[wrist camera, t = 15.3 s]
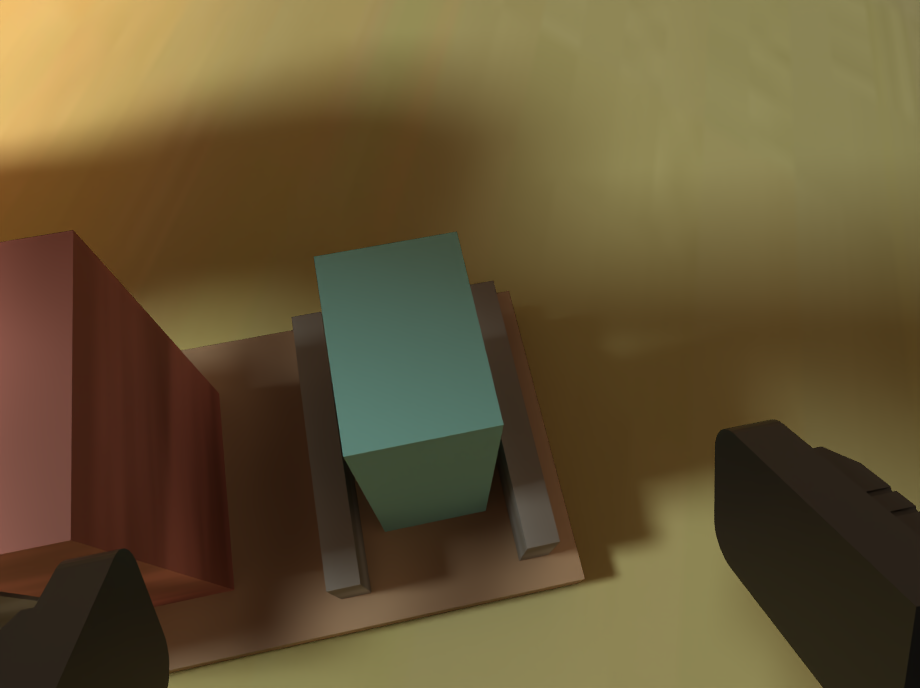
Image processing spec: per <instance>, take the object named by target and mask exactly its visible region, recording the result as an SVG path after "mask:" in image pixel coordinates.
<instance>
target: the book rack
mask: <svg viewBox="0 0 920 688" xmlns="http://www.w3.org/2000/svg"><path fill="white" fill-rule="evenodd" d="M470 288H471V292H472V296H473V300H474V304H475V309H476V313H477V317H478V321H479V325H480V329H481V333H482V337H483V342H484V346H485V350H486V354H487V358H488V362H489V366H490V370H491V375H492V379H493V383H494V387H495V391H496V395H497V399H498V403H499V408H500V412H501V416H502V420H503V424H504V426H503V430H502V435H501V440H500V445H499V449H498V454H497V459H496V464H495V469H494V473H493V478H492V483H491V488H490V492H489V497H488V502H487V507H486V511H483V512H478V513H473V514H468V515H464V516H459V517H454V518H449V519H445V520H440V521H435V522H430V523H426V524H421V525H416V526H411V527H407V528H402V529H397V530H392V531H388V532H385V531H384V529H383V527H382V525H381V524H380V522H379V520H378V518H377V516H376V515H375V513H374V511H373V509H372V507H371V506H370V504H369V502H368V500H367V499H366V497H365V495H364V493H363V491H362V490H361V488H360V486H359V484H358V482H357V481H356V479H355V477H354V475H353V473H352V472H351V470H350V468H349V466H348V464H347V463H346V461H345V459H344V457H343V452H342V445H341V438H340V431H339V424H338V418H337V411H336V404H335V397H334V391H333V384H332V377H331V370H330V363H329V357H328V350H327V343H326V336H325V329H324V323H323V316H322V313H321V312H317V313H311V314H306V315H300V316H295V317H292V324H293V330H291V331H286V332H280V333H275V334H269V335H264V336H258V337H253V338H247V339H242V340H236V341H231V342H225V343H220V344H214V345H209V346H203V347H198V348H192V349H187V350H180V349H179V348H178V347H177V346H176V345H175V343H174V342H173V341H172V340H171V339H170V338H169V337H168V336H167V334H166V333H165V332H164V331H163V330H162V329H161V328H160V327H159V326H158V324H157V323H156V322H155V321H154V320H153V319H152V318H151V317H150V315H149V314H148V313H147V312H146V311H145V310H144V309H143V308H142V307H141V305H140V304H139V303H138V302H137V301H136V300H135V299H134V298H133V296H132V295H131V294H130V293H129V292H128V291H127V290H126V289H125V288H124V286H123V285H122V284H121V283H120V282H119V281H118V280H117V279H116V277H115V276H114V275H113V274H112V273H111V272H110V271H109V270H108V269H107V267H106V266H105V265H104V264H103V263H102V262H101V261H100V260H99V258H98V257H97V256H96V255H95V254H94V253H93V252H92V251H91V250H90V248H89V247H88V246H87V245H86V244H85V243H84V242H83V241H82V239H81V238H80V237H79V236H78V235H77V234H76V233H75V232H74V230H71V231H65V232H59V233H53V234H47V235H41V236H35V237H29V238H23V239H17V240H11V241H5V242H0V629H1V628H2V627H4V626H5V625H6V624H7V623H8V622H9V621H10V620H11V619H12V618H13V617H14V616H15V615H16V614H17V613H18V612H19V611H20V610H23V609H28V608H33V607H35V605H36V603H37V602H38V600H39V598H40V596H41V594H42V593H43V591H44V589H45V587H46V585H47V583H48V582H49V580H50V578H51V576H52V574H53V573H54V571H55V569H56V567H57V566H58V565H59V564H60V563H61V562H62V561H64V560H68V559H73V558H78V557H83V556H88V555H93V554H98V553H103V552H108V551H113V550H118V549H123V548H125V549H128V550H129V551H130V552H131V553H132V554H133V556H134V557H135V559H136V562H137V564H138V566H139V569H140V572H141V574H142V577H143V580H144V582H145V585H146V588H147V590H148V593H149V595H150V598H151V601H152V603H153V606H154V609H155V611H156V614H157V617H158V619H159V622H160V624H161V627H162V630H163V632H164V635H165V638H166V642H167V647H168V653H169V673H172V672H177V671H181V670H186V669H190V668H195V667H199V666H204V665H208V664H213V663H217V662H222V661H227V660H231V659H236V658H240V657H245V656H249V655H254V654H258V653H263V652H267V651H272V650H277V649H281V648H286V647H290V646H295V645H299V644H304V643H308V642H313V641H317V640H322V639H326V638H331V637H336V636H340V635H345V634H349V633H354V632H358V631H363V630H367V629H372V628H376V627H381V626H386V625H390V624H395V623H399V622H404V621H408V620H413V619H417V618H422V617H426V616H431V615H435V614H440V613H445V612H449V611H454V610H458V609H463V608H467V607H472V606H476V605H481V604H485V603H490V602H495V601H499V600H504V599H508V598H513V597H517V596H522V595H526V594H531V593H535V592H540V591H544V590H549V589H554V588H558V587H563V586H567V585H572V584H576V583H579V582H581V581H582V580H584V579H585V578H584V574H583V570H582V566H581V563H580V559H579V555H578V551H577V547H576V544H575V540H574V536H573V532H572V528H571V525H570V521H569V517H568V513H567V510H566V506H565V502H564V498H563V494H562V491H561V487H560V483H559V479H558V475H557V472H556V468H555V464H554V460H553V456H552V453H551V449H550V445H549V441H548V438H547V434H546V430H545V426H544V422H543V419H542V415H541V411H540V407H539V403H538V400H537V396H536V392H535V388H534V384H533V381H532V377H531V373H530V369H529V366H528V362H527V358H526V354H525V350H524V347H523V343H522V339H521V335H520V331H519V328H518V324H517V320H516V316H515V312H514V309H513V305H512V301H511V297H510V294H509V291H506V292H500V293H496V289H495V285H494V281H489V282H483V283H478V284H472V285H470Z"/></svg>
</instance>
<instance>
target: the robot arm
mask: <svg viewBox="0 0 920 688" xmlns="http://www.w3.org/2000/svg"><path fill="white" fill-rule="evenodd" d="M714 523H715V531H716V536H717V539H718V543H719V546H720V549H721V551H722V553H723V556H724V558H725V560H726V561H727V563H728V565H729V566H730V567H731V569H732V570H733V571H734V573H735V574H736V575H737V577H738V578H739V579H740V581H741V582H742V583H743V584H744V586H745V587H746V588H747V590H748V591H749V592H750V594H751V595H752V596H753V597H754V599H755V600H756V601H757V603H758V604H759V605H760V606H761V608H762V609H763V610H764V612H765V613H766V614H767V616H768V617H769V618H770V619H771V621H772V622H773V623H774V625H775V626H776V627H777V629H778V630H779V631H780V632H781V634H782V635H783V636H784V638H785V639H786V640H787V641H788V643H789V644H790V645H791V647H792V648H793V649H794V651H795V652H796V653H797V654H798V656H799V657H800V658H801V660H802V661H803V662H804V664H805V665H806V666H807V667H808V669H809V670H810V671H811V673H812V674H813V675H814V677H815V678H816V679H817V680H818V682H819V683H820V684H821V686H822V687H823V688H920V512H918V511H917V510H916V506H915V505H914V504H913V503H911V502H910V501H909V500H907V499H906V498H905V497H904V496H902V495H901V494H900V493H898V492H897V491H894V492H892V490H891V487H890V486H889V485H888V484H887V483H886V482H884V481H883V480H882V479H880V478H879V477H878V476H876V475H875V474H874V473H873V472H871V471H870V470H869V469H867V468H866V467H865V466H864V465H862V464H861V463H859V462H857V461H854V460H852V459H849V458H847V457H845V456H842V455H840V454H838V453H835V452H833V451H831V450H828V449H826V448H824V447H817V448H812V447H811V446H809V445H808V444H807V443H806V442H804V441H803V440H802V439H801V438H800V437H798V436H797V435H796V434H795V433H794V432H792V431H791V430H790V429H789V428H787V427H786V426H785V425H784V424H782V423H781V422H780V421H777V420H767V421H762V422H757V423H752V424H747V425H742V426H737V427H732V428H727V429H723V430H721V431H720V432H719V433H718V435H717V437H716V442H715V502H714ZM168 682H169V653H168V647H167V642H166V638H165V635H164V632H163V630H162V627H161V624H160V622H159V619H158V617H157V614H156V611H155V609H154V606H153V603H152V601H151V598H150V595H149V593H148V590H147V588H146V585H145V582H144V580H143V577H142V574H141V572H140V569H139V566H138V564H137V562H136V559H135V557H134V556H133V554H132V553H131V552H130V551H129V550H128V549H125V548H123V549H118V550H113V551H108V552H103V553H98V554H93V555H88V556H83V557H78V558H73V559H68V560H64V561H62V562H61V563H60V564H59V565H58V566H57V567H56V569H55V571H54V573H53V574H52V576H51V578H50V580H49V582H48V583H47V585H46V587H45V589H44V591H43V593H42V594H41V596H40V598H39V600H38V602H37V603H36V605H35V607H33V608H28V609H23V610H20V611H19V612H18V613H17V614H16V615H15V616H14V617H13V618H12V619H11V620H10V621H9V622H8V623H7V624H6V625H5V626H4V627H2V628H1V629H0V688H167V687H168Z"/></svg>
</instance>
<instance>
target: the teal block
mask: <svg viewBox="0 0 920 688" xmlns="http://www.w3.org/2000/svg"><path fill="white" fill-rule="evenodd" d="M314 262H315V268H316V275H317V282H318V289H319V296H320V302H321V309H322V316H323V323H324V329H325V336H326V343H327V350H328V357H329V363H330V370H331V377H332V384H333V391H334V397H335V404H336V411H337V418H338V424H339V431H340V438H341V445H342V452H343V457H344V459H345V461H346V463H347V464H348V466H349V468H350V470H351V472H352V473H353V475H354V477H355V479H356V481H357V482H358V484H359V486H360V488H361V490H362V491H363V493H364V495H365V497H366V499H367V500H368V502H369V504H370V506H371V507H372V509H373V511H374V513H375V515H376V516H377V518H378V520H379V522H380V524H381V525H382V527H383V529H384V531H385V532H388V531H392V530H397V529H402V528H407V527H411V526H416V525H421V524H426V523H430V522H435V521H440V520H445V519H449V518H454V517H459V516H464V515H468V514H473V513H478V512H483V511H486V507H487V502H488V497H489V492H490V488H491V483H492V478H493V473H494V469H495V464H496V459H497V454H498V449H499V445H500V440H501V435H502V430H503V426H504V424H503V420H502V416H501V412H500V408H499V403H498V399H497V395H496V391H495V387H494V383H493V379H492V375H491V370H490V366H489V362H488V358H487V354H486V350H485V346H484V342H483V337H482V333H481V329H480V325H479V321H478V317H477V313H476V309H475V304H474V300H473V296H472V292H471V288H470V284H469V280H468V276H467V271H466V267H465V263H464V259H463V255H462V251H461V247H460V243H459V238H458V234H457V232H452V233H446V234H440V235H435V236H429V237H423V238H418V239H412V240H406V241H401V242H395V243H389V244H383V245H378V246H372V247H366V248H361V249H355V250H349V251H343V252H338V253H332V254H326V255H321V256H315V257H314Z"/></svg>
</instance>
